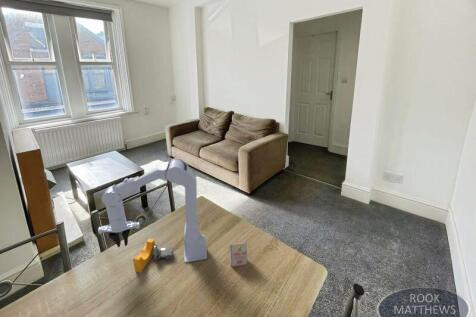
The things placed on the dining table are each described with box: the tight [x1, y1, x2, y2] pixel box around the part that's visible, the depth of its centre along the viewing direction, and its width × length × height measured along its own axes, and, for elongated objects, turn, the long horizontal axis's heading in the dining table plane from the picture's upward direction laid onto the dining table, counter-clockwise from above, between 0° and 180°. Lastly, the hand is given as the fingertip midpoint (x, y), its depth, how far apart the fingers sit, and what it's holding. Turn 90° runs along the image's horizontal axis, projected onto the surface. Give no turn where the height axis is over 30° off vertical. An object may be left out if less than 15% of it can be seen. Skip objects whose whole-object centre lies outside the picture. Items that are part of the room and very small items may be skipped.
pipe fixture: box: [153, 244, 173, 262], centre depth 102 cm, size 7×6×6 cm
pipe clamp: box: [132, 238, 156, 273], centre depth 100 cm, size 12×4×6 cm, turn 170°
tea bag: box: [229, 242, 248, 268], centre depth 99 cm, size 4×7×10 cm, turn 100°
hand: (122, 244), depth 96 cm, fingers closed
